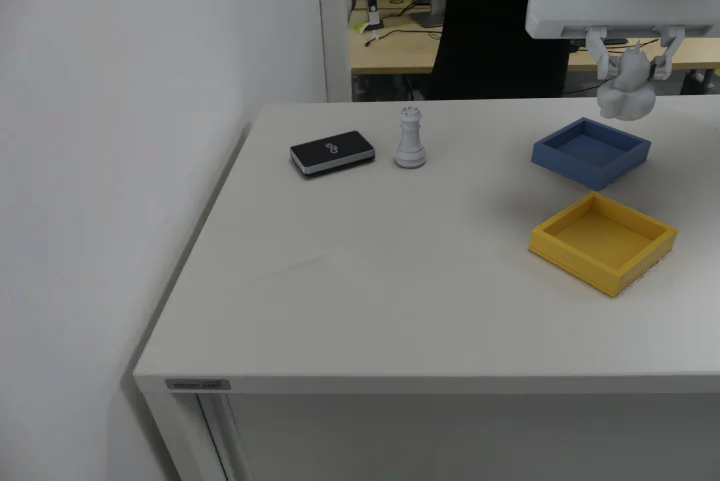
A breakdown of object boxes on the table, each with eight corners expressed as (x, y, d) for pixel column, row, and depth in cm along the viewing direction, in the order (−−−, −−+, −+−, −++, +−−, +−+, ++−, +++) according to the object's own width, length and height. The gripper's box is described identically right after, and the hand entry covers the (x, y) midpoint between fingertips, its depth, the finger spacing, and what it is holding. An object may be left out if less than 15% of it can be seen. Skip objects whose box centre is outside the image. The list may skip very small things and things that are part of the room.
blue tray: (579, 133, 84) (583, 116, 83) (646, 159, 78) (652, 141, 76) (530, 161, 79) (533, 143, 77) (598, 191, 72) (602, 172, 70)
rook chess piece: (432, 162, 80) (434, 110, 75) (407, 172, 78) (407, 120, 73) (412, 150, 83) (413, 99, 78) (388, 160, 81) (387, 108, 76)
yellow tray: (587, 209, 69) (592, 190, 67) (671, 249, 62) (679, 229, 61) (528, 249, 64) (531, 229, 62) (613, 297, 57) (619, 277, 55)
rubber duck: (665, 114, 56) (683, 35, 51) (624, 140, 54) (638, 60, 49) (617, 99, 60) (629, 24, 55) (576, 123, 57) (585, 46, 52)
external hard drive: (377, 161, 81) (376, 149, 80) (304, 181, 78) (303, 169, 76) (357, 141, 86) (356, 129, 85) (289, 159, 83) (287, 147, 81)
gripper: (531, -76, 53) (527, 63, 52) (765, -84, 50) (768, 63, 49) (521, -36, 59) (517, 89, 58) (728, -41, 57) (730, 90, 55)
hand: (634, 77), depth 53 cm, fingers closed on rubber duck, 3 cm apart
